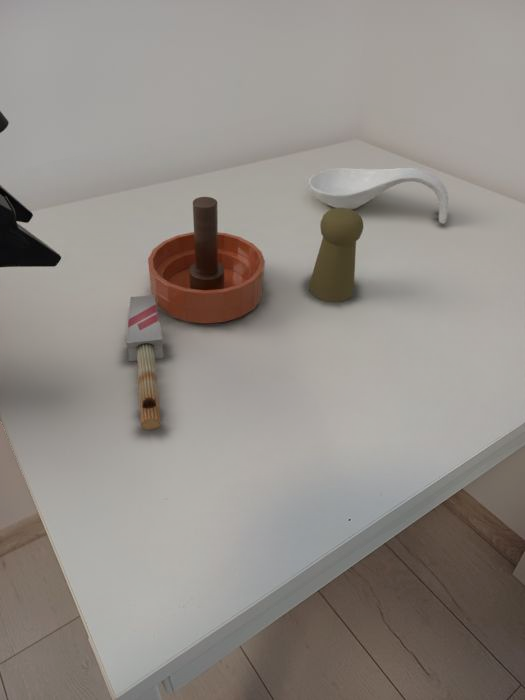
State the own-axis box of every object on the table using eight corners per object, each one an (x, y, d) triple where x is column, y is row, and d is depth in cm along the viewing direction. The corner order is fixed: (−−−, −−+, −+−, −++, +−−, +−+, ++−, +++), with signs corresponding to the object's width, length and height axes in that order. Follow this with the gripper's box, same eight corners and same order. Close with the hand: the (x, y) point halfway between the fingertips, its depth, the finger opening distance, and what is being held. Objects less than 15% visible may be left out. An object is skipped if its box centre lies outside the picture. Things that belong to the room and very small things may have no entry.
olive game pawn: (306, 298, 67) (316, 221, 60) (311, 273, 72) (321, 199, 64) (352, 305, 66) (368, 228, 59) (354, 279, 71) (369, 205, 64)
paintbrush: (157, 285, 62) (169, 413, 48) (159, 302, 64) (171, 431, 50) (124, 287, 61) (127, 418, 47) (127, 305, 63) (130, 436, 49)
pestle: (202, 303, 64) (199, 214, 56) (183, 286, 67) (178, 199, 59) (231, 291, 66) (232, 204, 58) (211, 276, 69) (210, 190, 61)
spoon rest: (300, 210, 86) (304, 168, 81) (314, 183, 94) (318, 143, 90) (444, 235, 82) (458, 193, 77) (445, 205, 90) (457, 164, 86)
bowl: (138, 319, 62) (133, 285, 59) (168, 258, 73) (165, 226, 69) (254, 333, 61) (256, 298, 58) (267, 269, 72) (270, 237, 68)
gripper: (-72, 73, 30) (131, 210, 42) (-107, 16, 41) (61, 136, 53) (-167, 227, 31) (54, 316, 44) (-175, 131, 43) (2, 223, 55)
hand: (43, 238), depth 49 cm, fingers open, 9 cm apart
